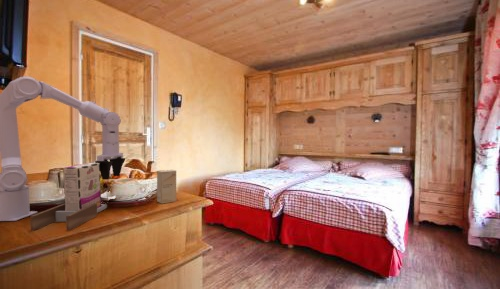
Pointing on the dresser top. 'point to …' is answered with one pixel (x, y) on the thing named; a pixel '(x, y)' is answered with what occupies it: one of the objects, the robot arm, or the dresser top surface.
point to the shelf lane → (71, 220)
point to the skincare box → (166, 186)
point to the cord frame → (62, 214)
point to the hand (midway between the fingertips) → (111, 177)
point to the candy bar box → (82, 186)
